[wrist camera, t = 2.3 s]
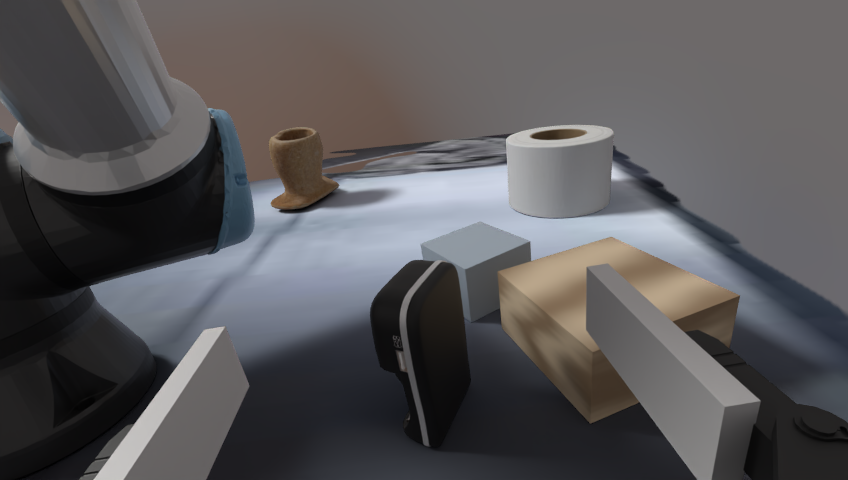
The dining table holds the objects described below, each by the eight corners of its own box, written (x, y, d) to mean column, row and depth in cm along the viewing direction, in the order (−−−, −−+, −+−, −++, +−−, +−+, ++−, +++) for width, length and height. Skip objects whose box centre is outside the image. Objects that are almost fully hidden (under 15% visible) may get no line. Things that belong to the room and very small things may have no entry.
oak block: (501, 328, 38) (497, 271, 35) (608, 291, 41) (611, 236, 38) (590, 423, 27) (592, 352, 25) (726, 364, 30) (739, 295, 28)
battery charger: (430, 371, 34) (409, 248, 29) (473, 381, 32) (458, 251, 28) (388, 439, 28) (354, 300, 24) (438, 455, 27) (411, 309, 22)
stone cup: (310, 215, 77) (288, 135, 71) (265, 213, 82) (241, 138, 76) (355, 189, 89) (339, 119, 83) (313, 189, 95) (295, 123, 89)
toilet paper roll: (608, 184, 69) (610, 119, 65) (613, 218, 56) (617, 140, 52) (516, 187, 75) (512, 128, 71) (501, 219, 62) (496, 149, 58)
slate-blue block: (428, 292, 46) (420, 244, 43) (484, 267, 49) (479, 221, 47) (471, 323, 39) (464, 269, 37) (532, 293, 43) (530, 241, 40)
